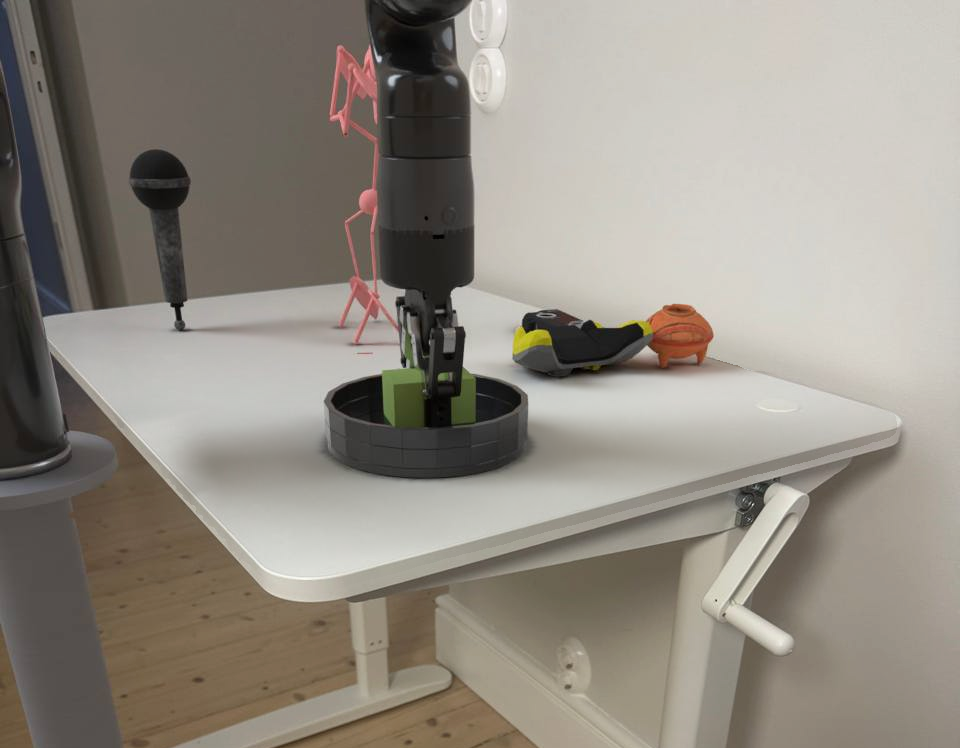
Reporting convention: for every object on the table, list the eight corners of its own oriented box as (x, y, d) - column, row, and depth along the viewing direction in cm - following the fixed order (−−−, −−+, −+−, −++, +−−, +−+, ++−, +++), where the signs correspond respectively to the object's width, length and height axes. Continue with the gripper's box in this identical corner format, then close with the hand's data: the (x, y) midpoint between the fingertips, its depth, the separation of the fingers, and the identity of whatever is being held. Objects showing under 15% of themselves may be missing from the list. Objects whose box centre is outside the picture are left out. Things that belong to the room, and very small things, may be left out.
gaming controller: (656, 374, 106) (608, 353, 113) (662, 322, 103) (612, 303, 111) (532, 390, 100) (490, 366, 108) (534, 334, 97) (491, 314, 105)
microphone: (139, 332, 120) (110, 149, 110) (177, 321, 125) (152, 146, 115) (184, 339, 117) (158, 152, 107) (220, 327, 123) (199, 148, 113)
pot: (705, 351, 113) (716, 294, 109) (708, 385, 108) (719, 327, 103) (635, 346, 114) (643, 289, 109) (635, 379, 108) (643, 321, 104)
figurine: (362, 362, 109) (342, -18, 91) (320, 314, 130) (298, -2, 112) (493, 353, 113) (499, -13, 95) (432, 307, 134) (428, 1, 117)
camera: (548, 325, 114) (514, 308, 123) (549, 349, 116) (515, 331, 125) (598, 317, 116) (560, 301, 125) (598, 341, 117) (561, 323, 126)
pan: (347, 487, 76) (344, 437, 74) (314, 421, 91) (310, 377, 89) (555, 466, 81) (557, 419, 79) (492, 406, 95) (493, 365, 93)
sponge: (395, 443, 83) (393, 384, 80) (384, 427, 86) (381, 370, 84) (475, 436, 84) (475, 377, 82) (461, 420, 88) (460, 364, 86)
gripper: (361, 210, 82) (371, 412, 90) (399, 234, 70) (407, 464, 78) (448, 207, 84) (450, 405, 92) (500, 230, 72) (496, 455, 80)
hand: (430, 431), depth 85 cm, fingers closed on sponge, 4 cm apart
